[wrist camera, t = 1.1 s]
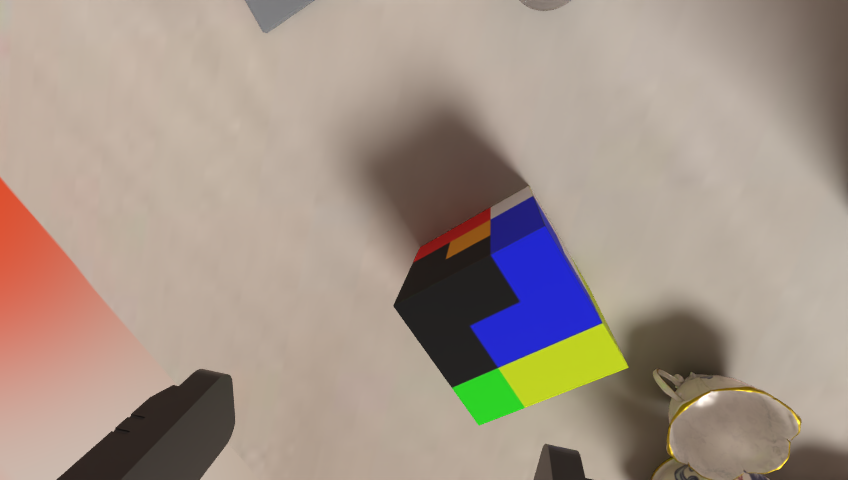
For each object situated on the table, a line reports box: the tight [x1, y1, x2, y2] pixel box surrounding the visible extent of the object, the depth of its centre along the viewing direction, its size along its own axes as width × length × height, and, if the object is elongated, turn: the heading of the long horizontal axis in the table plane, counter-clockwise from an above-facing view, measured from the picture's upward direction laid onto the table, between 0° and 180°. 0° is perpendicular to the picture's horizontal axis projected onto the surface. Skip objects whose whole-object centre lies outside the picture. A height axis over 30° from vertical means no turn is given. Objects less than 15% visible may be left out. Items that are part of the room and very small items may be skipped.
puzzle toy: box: [394, 186, 629, 425], centre depth 29 cm, size 10×10×10 cm
